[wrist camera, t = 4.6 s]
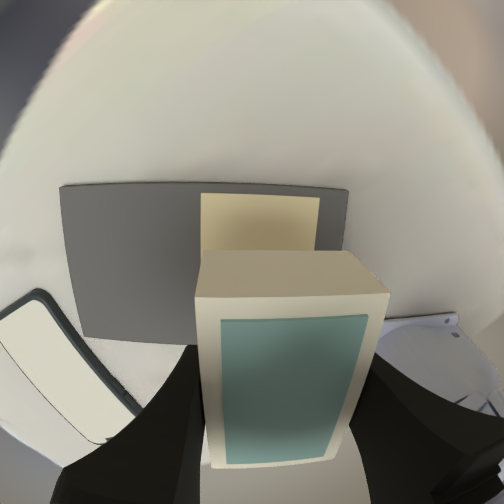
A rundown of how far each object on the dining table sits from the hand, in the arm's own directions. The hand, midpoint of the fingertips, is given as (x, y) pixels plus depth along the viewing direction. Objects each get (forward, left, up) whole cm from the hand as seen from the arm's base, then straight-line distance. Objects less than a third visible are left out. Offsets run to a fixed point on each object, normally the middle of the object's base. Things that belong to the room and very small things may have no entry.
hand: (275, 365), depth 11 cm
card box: (0, 0, -1) cm, 1 cm away
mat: (+4, 0, -9) cm, 9 cm away
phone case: (+15, +11, -9) cm, 21 cm away
